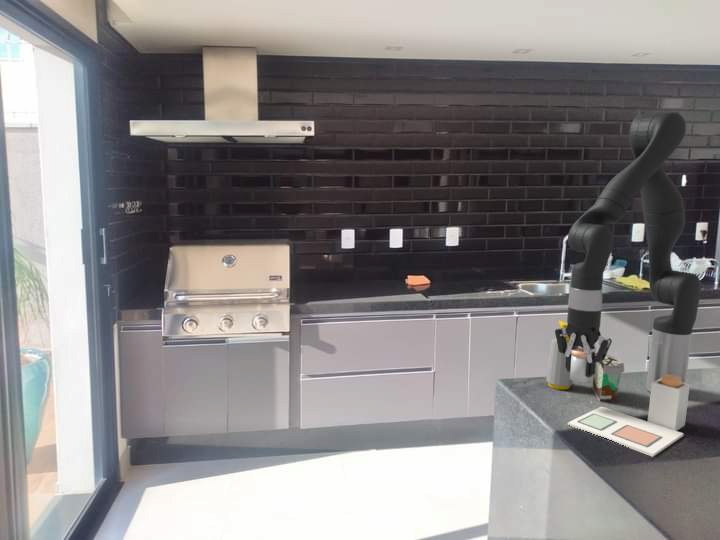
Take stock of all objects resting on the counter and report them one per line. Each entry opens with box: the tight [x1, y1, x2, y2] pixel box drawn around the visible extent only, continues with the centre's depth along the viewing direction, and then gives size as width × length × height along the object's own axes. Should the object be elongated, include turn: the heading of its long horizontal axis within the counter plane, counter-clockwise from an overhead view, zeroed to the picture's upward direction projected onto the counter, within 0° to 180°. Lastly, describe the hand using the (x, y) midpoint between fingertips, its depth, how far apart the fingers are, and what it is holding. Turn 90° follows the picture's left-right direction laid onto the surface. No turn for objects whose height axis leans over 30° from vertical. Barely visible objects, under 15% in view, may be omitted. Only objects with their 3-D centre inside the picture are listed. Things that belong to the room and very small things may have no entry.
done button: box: [661, 374, 681, 389], centre depth 130 cm, size 4×4×2 cm
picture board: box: [567, 406, 684, 458], centre depth 127 cm, size 16×19×1 cm
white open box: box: [647, 378, 691, 431], centre depth 130 cm, size 6×6×10 cm
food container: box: [592, 352, 625, 403], centre depth 147 cm, size 12×6×10 cm, turn 168°
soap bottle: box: [545, 320, 574, 391], centre depth 153 cm, size 7×7×18 cm
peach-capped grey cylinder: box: [570, 346, 590, 384], centre depth 138 cm, size 5×5×8 cm
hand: (579, 373), depth 138 cm, fingers closed on peach-capped grey cylinder, 4 cm apart
